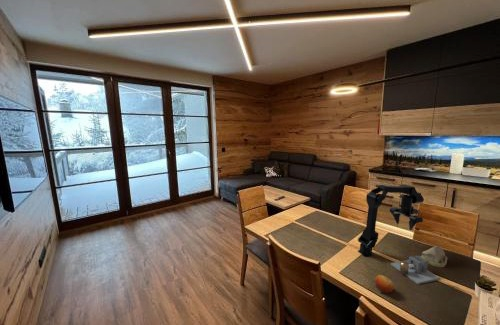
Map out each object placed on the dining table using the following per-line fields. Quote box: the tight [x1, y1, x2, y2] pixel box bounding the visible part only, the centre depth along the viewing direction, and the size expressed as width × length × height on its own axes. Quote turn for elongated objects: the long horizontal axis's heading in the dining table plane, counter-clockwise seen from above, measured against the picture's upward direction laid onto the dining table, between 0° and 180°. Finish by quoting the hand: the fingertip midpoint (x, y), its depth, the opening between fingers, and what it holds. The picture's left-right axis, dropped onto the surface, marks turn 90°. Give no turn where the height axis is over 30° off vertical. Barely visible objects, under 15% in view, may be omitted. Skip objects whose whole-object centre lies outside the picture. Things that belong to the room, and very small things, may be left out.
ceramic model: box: [419, 244, 448, 268], centre depth 124 cm, size 14×11×10 cm
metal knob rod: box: [399, 260, 430, 275], centre depth 115 cm, size 18×4×5 cm, turn 103°
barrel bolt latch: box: [390, 255, 441, 285], centre depth 115 cm, size 14×16×8 cm
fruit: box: [374, 274, 395, 294], centre depth 103 cm, size 8×8×8 cm
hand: (403, 226), depth 137 cm, fingers open, 9 cm apart
